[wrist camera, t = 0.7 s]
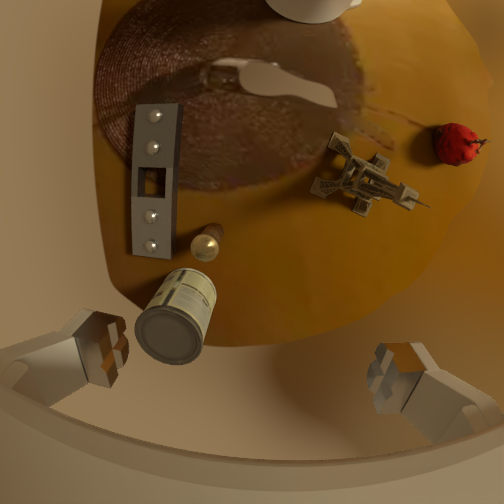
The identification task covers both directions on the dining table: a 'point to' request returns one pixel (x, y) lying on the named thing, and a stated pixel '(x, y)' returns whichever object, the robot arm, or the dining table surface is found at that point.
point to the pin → (207, 243)
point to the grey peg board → (166, 156)
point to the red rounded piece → (456, 144)
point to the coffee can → (177, 317)
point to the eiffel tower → (358, 187)
